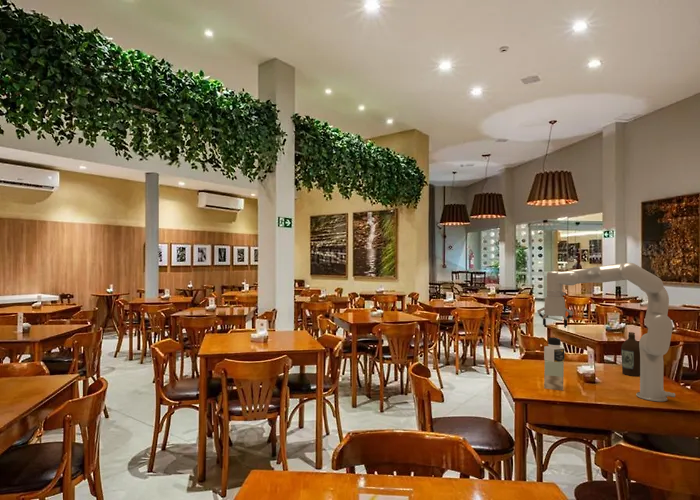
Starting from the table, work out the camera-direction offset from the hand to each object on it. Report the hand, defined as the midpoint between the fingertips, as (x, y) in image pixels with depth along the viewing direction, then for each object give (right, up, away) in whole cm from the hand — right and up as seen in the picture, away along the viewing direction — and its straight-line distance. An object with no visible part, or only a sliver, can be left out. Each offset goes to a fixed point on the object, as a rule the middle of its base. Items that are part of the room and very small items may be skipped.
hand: (554, 326), depth 238 cm
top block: (-1, -25, 0) cm, 25 cm away
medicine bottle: (-1, -18, 0) cm, 18 cm away
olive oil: (+60, -34, +31) cm, 75 cm away
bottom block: (-1, -32, -1) cm, 32 cm away
